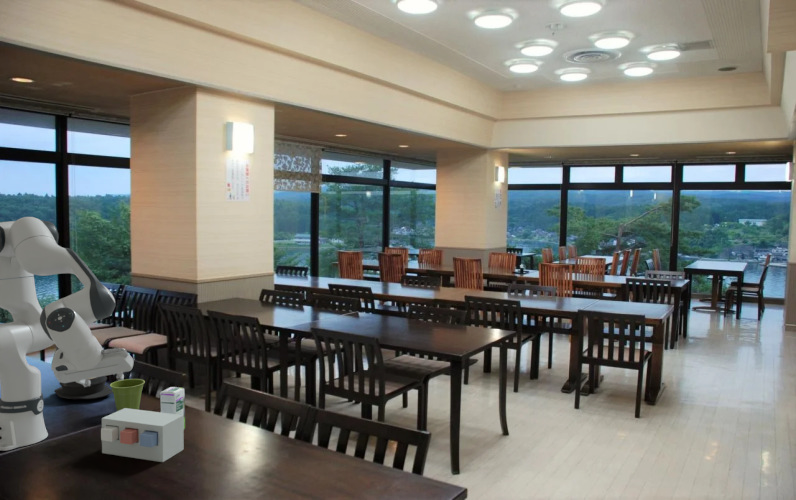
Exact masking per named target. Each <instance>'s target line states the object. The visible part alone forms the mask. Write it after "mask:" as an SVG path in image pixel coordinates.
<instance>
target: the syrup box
mask: <svg viewBox="0 0 796 500" xmlns="http://www.w3.org/2000/svg"><path fill="white" fill-rule="evenodd" d="M159 394H160V399H159V401H160V412H161V413H169V414H177V415H184V430H185V429H186V410H185V409H186V401H185V388H184V387H179V386H178V387H177V386H170V387H167V388H166V389H164V390H162V391H160V393H159Z"/></svg>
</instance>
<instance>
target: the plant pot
mask: <svg viewBox="0 0 796 500" xmlns="http://www.w3.org/2000/svg"><path fill="white" fill-rule="evenodd" d="M145 383H146V381H145V380H144V379H141V378H129V379H128V378H126V379H123V380H120V381H118V380H115V381H114V382H111V383H110V384H109V388H111V389H112V391H113V398H114V402H115V408H116V412H117V411H119V410H122V409H124V408H129V409H137V410H140V404H141V398H142V391H143V387H144V385H145Z"/></svg>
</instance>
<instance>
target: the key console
mask: <svg viewBox="0 0 796 500" xmlns="http://www.w3.org/2000/svg"><path fill="white" fill-rule="evenodd" d="M106 426H115V427H119V439H117V440H115V441H113V442H110V441H103V440H101V453H102V454H106V455H114V456H119V457H126V458H132V459H133V458H134V459H138V460H139V459H140V460H144V461H145V460H146V461H153V462H159V463H164V462H166V461H167V460H169V459H171V458H172V457H173V456H175V455H177V454H179V453H181V452H183V450H184V447H185V445H184V443H185V442H184V439H185V438H184V436H185V433H184V431H185V429H184V415H177V414H169V413H161V411H160V412H159V411H153V410H143V409H139V410H137V409H129V408H124V409H122V410H119V411H117V410H116V411H115V412H112V413H110V414H109V415H105V416H104V417H102V418H101V429H102V428H104V427H106ZM127 428H130V429H138V439H139V441H137V442H136V443H134V444H132V445H131V444H124V443H120V431H123V430H125V429H127ZM145 431H152V432H158V444H157V445H155V446H153V447H145V446H140V434H142V433H143V432H145Z"/></svg>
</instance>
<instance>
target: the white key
mask: <svg viewBox="0 0 796 500" xmlns="http://www.w3.org/2000/svg"><path fill="white" fill-rule="evenodd" d="M117 439H119V427H115V426H106V427H104V428H102V427H101V428H100V440H101V441H102V440H103V441H110V442H113V441H115V440H117Z"/></svg>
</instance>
